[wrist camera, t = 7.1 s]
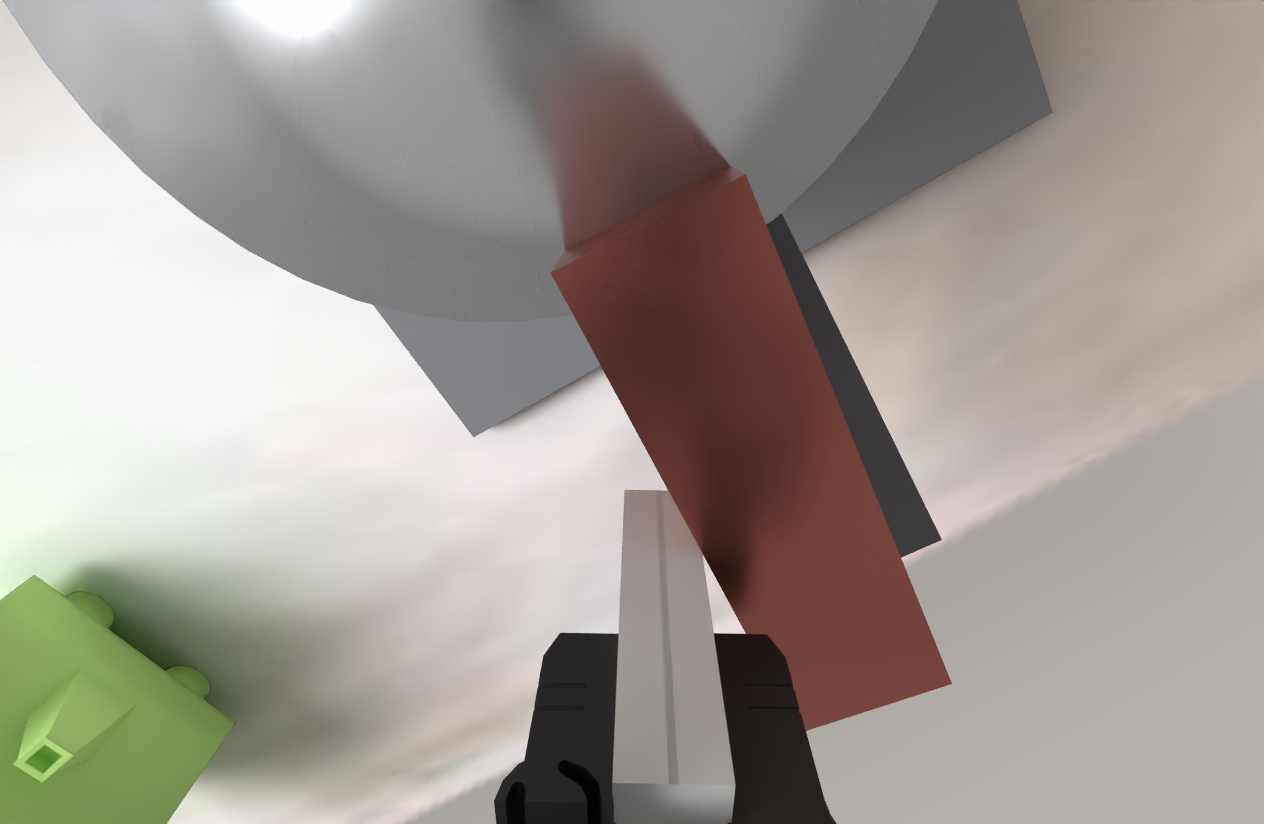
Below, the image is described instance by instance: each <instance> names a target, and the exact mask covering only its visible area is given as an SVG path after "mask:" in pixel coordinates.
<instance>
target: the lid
mask: <svg viewBox="0 0 1264 824" xmlns="http://www.w3.org/2000/svg"><path fill="white" fill-rule="evenodd" d="M3 1H4V3H5V4H6V6H7V7H8V9H9V10H10V12H11V13H12V15H13V16H14V18H15V19H16V21H17V22H18V24H19V25H20V27H21V28H22V30H23V31H24V33H25V34H26V35H27V37H28V38H29V40H30V41H31V43H32V44H33V46H34V47H35V49H36V50H37V52H38V53H39V55H40V56H41V58H42V59H43V61H44V62H45V63H46V65H47V66H48V67H49V68H50V70H51V71H52V72H53V73H54V74H55V76H56V77H57V78H58V79H59V80H60V82H61V83H62V84H63V85H64V87H65V88H66V89H67V90H68V91H69V93H70V94H71V95H72V96H73V98H74V99H75V100H76V101H77V102H78V104H79V105H80V106H81V107H82V109H83V110H84V111H85V112H86V113H87V115H88V116H89V117H90V118H91V120H92V121H93V122H94V123H95V124H96V125H97V126H98V127H99V128H100V129H101V130H102V131H103V132H104V133H105V134H106V135H107V136H108V137H109V138H110V139H111V140H112V141H113V142H114V143H115V144H116V145H117V146H118V147H119V148H120V149H121V150H122V151H123V152H124V153H125V154H126V155H127V156H128V157H129V158H130V159H131V160H132V161H133V162H134V163H135V164H136V165H137V166H138V167H139V168H140V169H141V170H142V171H143V172H144V173H145V174H146V175H147V176H149V177H150V178H151V179H152V180H153V181H155V182H156V183H157V184H158V185H159V186H161V187H162V188H163V189H164V190H165V191H167V192H168V193H169V194H170V195H171V196H173V197H174V198H175V199H176V200H177V201H179V202H180V203H181V204H182V205H184V206H185V207H186V208H187V209H188V210H190V211H191V212H192V213H193V214H194V215H196V216H197V217H199V218H200V219H202V220H203V221H205V222H206V223H208V224H209V225H211V226H212V227H214V228H215V229H217V230H218V231H220V232H221V233H223V234H224V235H226V236H227V237H229V238H230V239H232V240H233V241H234V242H236V243H237V244H239V245H240V246H242V247H243V248H245V249H246V250H248V251H250V252H252V253H253V254H255V255H257V256H259V257H261V258H263V259H265V260H267V261H269V262H271V263H273V264H274V265H276V266H278V267H280V268H282V269H284V270H286V271H288V272H290V273H292V274H294V275H296V276H297V277H299V278H301V279H303V280H306V281H308V282H311V283H314V284H316V285H319V286H321V287H324V288H327V289H329V290H332V291H334V292H337V293H339V294H342V295H345V296H347V297H350V298H352V299H355V300H358V301H362V302H365V303H369V304H373V305H377V306H381V307H385V308H389V309H393V310H396V311H400V312H404V313H408V314H412V315H420V316H427V317H435V318H443V319H450V320H458V321H466V322H523V321H531V320H539V319H547V318H555V317H563V316H571V315H574V317H575V319H576V321H577V323H578V325H579V326H580V328H581V330H582V332H583V334H584V336H585V337H586V339H587V341H588V343H589V345H590V347H591V349H592V350H593V352H594V354H595V356H596V358H597V360H598V361H599V363H600V365H601V367H602V369H603V371H604V373H605V374H606V376H607V378H608V380H609V382H610V384H611V385H612V387H613V389H614V391H615V393H616V395H617V397H618V398H619V400H620V402H621V404H622V406H623V408H624V409H625V411H626V413H627V415H628V417H629V419H630V421H631V422H632V424H633V426H634V428H635V430H636V432H637V433H638V435H639V437H640V439H641V441H642V443H643V445H644V446H645V448H646V450H647V452H648V454H649V456H650V457H651V459H652V461H653V463H654V465H655V467H656V469H657V470H658V472H659V474H660V476H661V478H662V480H663V481H664V483H665V485H666V487H667V489H668V491H669V492H670V494H671V496H672V498H673V500H674V502H675V504H676V505H677V507H678V509H679V511H680V513H681V515H682V516H683V518H684V520H685V522H686V524H687V526H688V528H689V529H690V531H691V533H692V535H693V537H694V539H695V540H696V542H697V544H698V546H699V548H700V550H701V552H702V553H703V555H704V557H705V559H706V561H707V563H708V564H709V566H710V568H711V570H712V572H713V574H714V576H715V577H716V579H717V581H718V583H719V585H720V587H721V588H722V590H723V592H724V594H725V596H726V598H727V600H728V601H729V603H730V605H731V607H732V609H733V611H734V612H735V614H736V616H737V618H738V620H739V622H740V624H741V625H742V627H743V629H744V631H745V633H746V634H767V635H768V636H769V637H770V639H771V640H772V641H773V642H774V644H775V645H776V646H777V647H778V649H779V650H780V651H781V652H782V653H783V655H784V656H785V657H786V660H787V664H788V667H789V671H790V675H791V679H792V682H793V690H795V693H796V697H797V701H798V704H799V712H800V713H801V715H802V719H803V723H804V726H805V730H806V731H807V730H810V729H813V728H816V727H819V726H822V725H826V724H829V723H832V722H835V721H838V720H841V719H844V718H847V717H850V716H854V715H857V714H860V713H863V712H865V711H869V710H872V709H875V708H878V707H881V706H885V705H888V704H891V703H894V702H897V701H900V700H903V699H906V698H909V697H912V696H915V695H919V694H922V693H925V692H928V691H931V690H934V689H937V688H940V687H944V686H946V685H950V684H952V683H951V681H950V678H949V675H948V673H947V671H946V668H945V666H944V663H943V661H942V658H941V656H940V653H939V651H938V648H937V646H936V643H935V641H934V638H933V636H932V634H931V631H930V629H929V626H928V624H927V621H926V619H925V616H924V614H923V611H922V609H921V606H920V604H919V601H918V599H917V597H916V594H915V591H914V589H913V586H912V584H911V582H910V579H909V577H908V574H907V572H906V569H905V567H904V564H903V562H902V559H901V557H900V554H899V552H898V549H897V547H896V544H895V542H894V539H893V537H892V535H891V532H890V530H889V527H888V525H887V522H886V520H885V517H884V515H883V512H882V510H881V507H880V505H879V502H878V500H877V497H876V495H875V493H874V490H873V488H872V485H871V483H870V480H869V478H868V475H867V473H866V470H865V468H864V465H863V463H862V460H861V458H860V455H859V453H858V450H857V448H856V446H855V443H854V441H853V438H852V436H851V433H850V431H849V428H848V426H847V423H846V421H845V418H844V416H843V413H842V411H841V408H840V406H839V404H838V401H837V399H836V396H835V394H834V391H833V389H832V386H831V384H830V381H829V379H828V376H827V374H826V371H825V369H824V366H823V364H822V361H821V359H820V357H819V354H818V352H817V349H816V347H815V344H814V342H813V339H812V337H811V334H810V332H809V329H808V327H807V324H806V322H805V319H804V317H803V314H802V312H801V310H800V307H799V305H798V302H797V300H796V297H795V295H794V292H793V290H792V287H791V285H790V282H789V280H788V277H787V275H786V272H785V270H784V268H783V265H782V263H781V260H780V258H779V255H778V253H777V250H776V248H775V245H774V243H773V240H772V238H771V235H770V233H769V230H768V228H767V224H768V223H769V222H771V221H772V220H773V219H775V218H776V217H777V216H779V215H780V214H781V213H782V212H783V211H784V210H785V209H786V208H787V207H788V206H789V205H790V204H791V203H792V202H793V201H794V200H795V199H796V198H798V197H799V196H800V195H801V194H802V193H803V192H804V191H805V190H806V189H807V188H808V187H809V186H810V185H811V184H812V183H813V182H814V181H815V180H817V179H818V178H819V177H820V176H821V175H822V174H823V173H824V172H825V171H826V170H827V168H828V167H829V166H830V165H831V164H832V162H833V161H834V160H835V159H836V158H837V156H838V155H839V154H840V153H841V152H842V150H843V149H844V148H845V147H846V146H847V144H848V143H849V142H850V141H851V140H852V138H853V137H854V136H855V135H856V134H857V132H858V131H859V130H860V129H861V128H862V126H863V125H864V124H865V123H866V122H867V120H868V119H869V118H870V116H871V114H872V113H873V111H874V110H875V108H876V107H877V105H878V104H879V102H880V101H881V99H882V98H883V96H884V95H885V93H886V92H887V90H888V89H889V87H890V86H891V84H892V83H893V81H894V80H895V78H896V77H897V75H898V74H899V72H900V71H901V69H902V68H903V66H904V64H905V63H906V61H907V60H908V58H909V56H910V54H911V52H912V50H913V48H914V47H915V45H916V43H917V41H918V39H919V37H920V35H921V33H922V31H923V29H924V27H925V25H926V23H927V21H928V19H929V17H930V15H931V14H932V12H933V10H934V8H935V6H936V4H937V2H938V0H3Z"/></svg>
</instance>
